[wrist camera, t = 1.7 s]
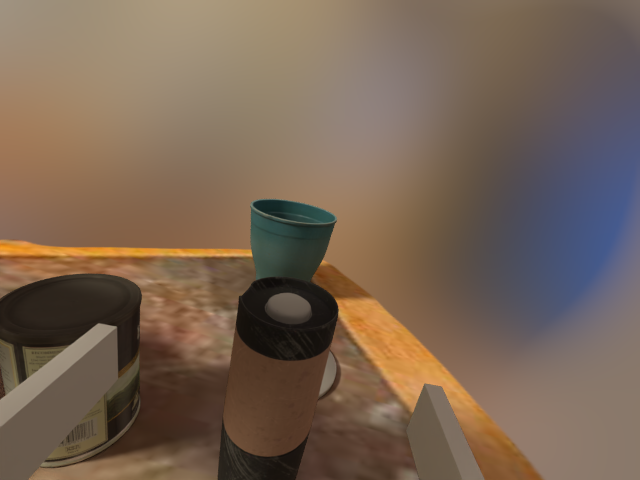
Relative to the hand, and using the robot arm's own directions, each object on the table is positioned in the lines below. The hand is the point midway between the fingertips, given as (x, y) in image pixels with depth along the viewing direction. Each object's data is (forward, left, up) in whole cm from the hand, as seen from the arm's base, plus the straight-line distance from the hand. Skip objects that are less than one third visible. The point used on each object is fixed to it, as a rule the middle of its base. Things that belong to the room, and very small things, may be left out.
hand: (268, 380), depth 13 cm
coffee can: (-19, +13, -22) cm, 32 cm away
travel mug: (0, +10, -22) cm, 24 cm away
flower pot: (-4, +51, -22) cm, 55 cm away
